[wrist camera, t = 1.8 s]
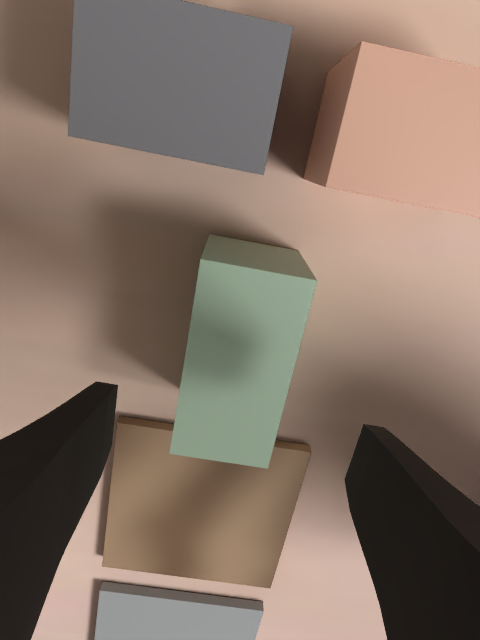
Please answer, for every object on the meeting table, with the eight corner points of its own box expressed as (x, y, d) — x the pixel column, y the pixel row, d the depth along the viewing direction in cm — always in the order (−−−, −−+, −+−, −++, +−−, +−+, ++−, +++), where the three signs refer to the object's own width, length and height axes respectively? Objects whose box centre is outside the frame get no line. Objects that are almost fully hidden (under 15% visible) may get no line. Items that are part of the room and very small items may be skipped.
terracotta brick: (473, 104, 17) (560, 86, 13) (438, 205, 19) (505, 223, 14) (327, 72, 17) (362, 40, 12) (303, 178, 18) (325, 186, 14)
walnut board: (309, 445, 23) (311, 452, 22) (269, 578, 26) (270, 588, 26) (120, 415, 22) (116, 422, 22) (105, 557, 26) (102, 566, 25)
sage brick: (297, 249, 19) (316, 280, 15) (261, 402, 22) (267, 468, 17) (209, 233, 19) (200, 259, 14) (183, 389, 22) (169, 453, 17)
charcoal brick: (277, 61, 17) (293, 26, 12) (256, 169, 18) (263, 175, 13) (121, 26, 16) (75, -24, 12) (112, 140, 18) (67, 135, 13)
